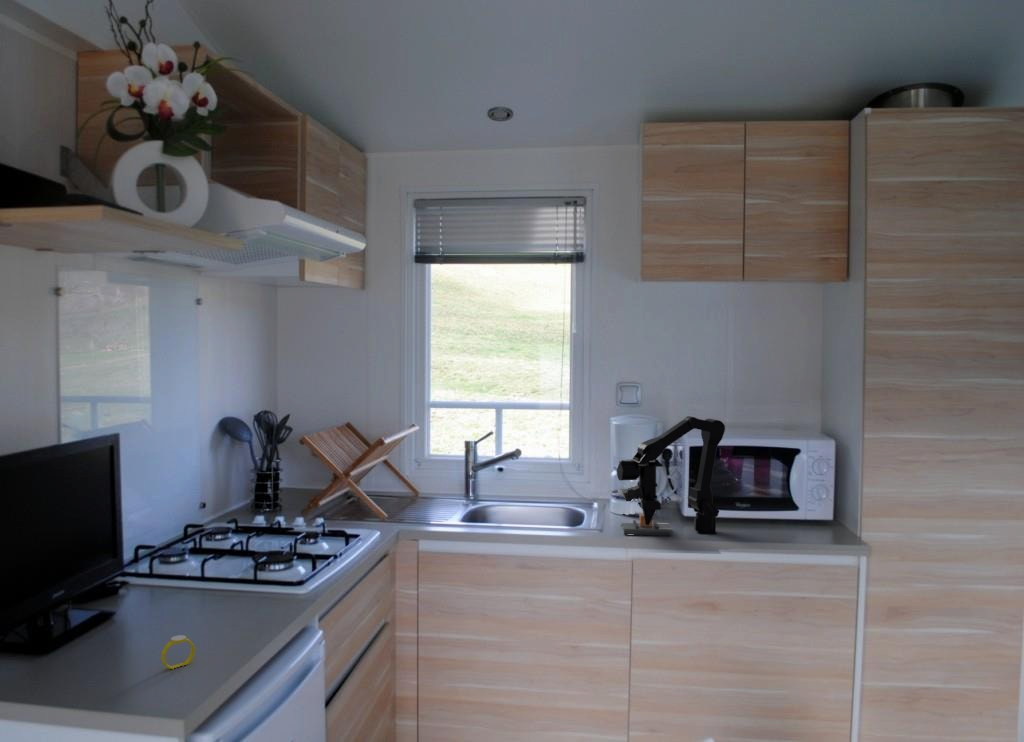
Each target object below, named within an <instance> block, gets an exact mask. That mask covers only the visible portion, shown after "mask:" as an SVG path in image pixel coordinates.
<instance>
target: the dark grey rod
mask: <svg viewBox="0 0 1024 742" xmlns="http://www.w3.org/2000/svg"><path fill="white" fill-rule="evenodd" d="M624 534H634V535H633V536H640V535H648V537H649V536H650V537H657V536H658V537H659V536H660V537H670V536H671V535H670V532H624V533H623V535H624Z"/></svg>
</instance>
